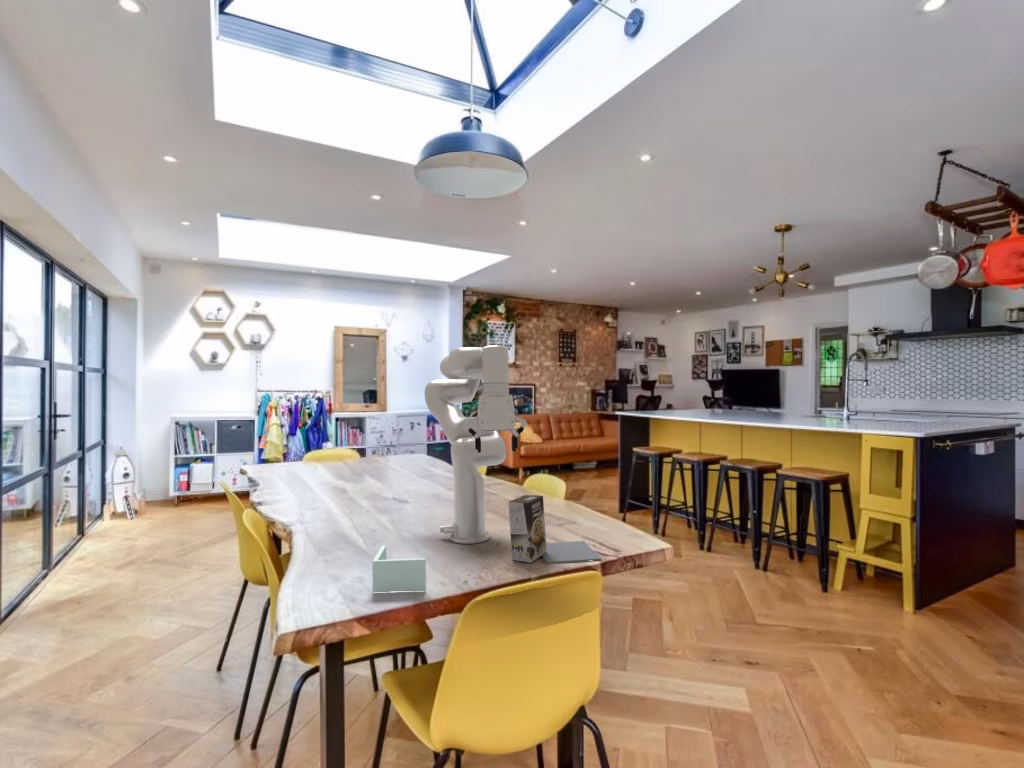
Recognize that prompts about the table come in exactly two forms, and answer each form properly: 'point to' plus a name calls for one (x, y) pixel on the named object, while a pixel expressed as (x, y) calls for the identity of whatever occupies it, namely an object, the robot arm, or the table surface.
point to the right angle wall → (398, 573)
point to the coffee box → (527, 528)
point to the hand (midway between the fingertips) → (496, 451)
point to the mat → (569, 552)
